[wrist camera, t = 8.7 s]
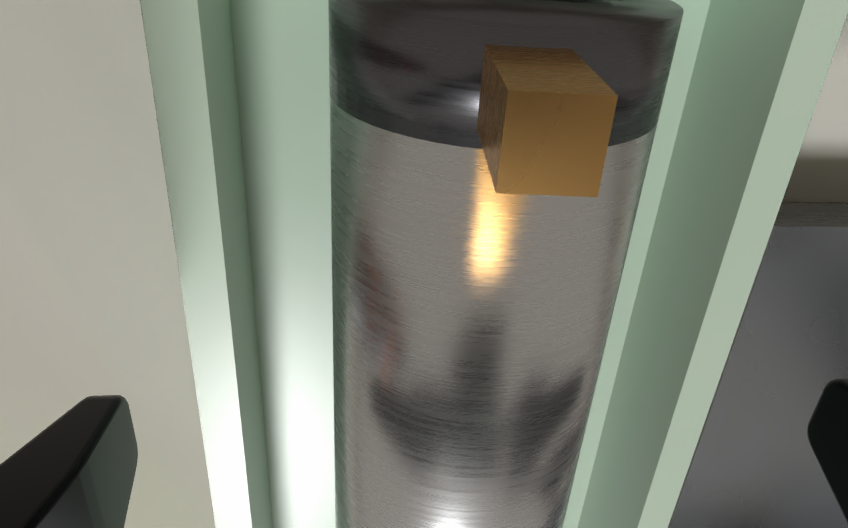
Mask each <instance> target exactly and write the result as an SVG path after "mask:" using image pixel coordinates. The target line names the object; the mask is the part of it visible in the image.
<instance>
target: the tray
mask: <svg viewBox="0 0 848 528" xmlns="http://www.w3.org/2000/svg"><path fill="white" fill-rule="evenodd" d="M671 1H673V2H675V3H677V4H678V5H680V6H681V7H682V8H683V11H684V13H683V17H682V21H681V26H680V30H679V34H678V38H677V43H676V47H675V51H674V55H673V60H672V64H671V68H670V72H669V77H668V81H667V85H666V89H665V94H664V98H663V102H662V107H661V111H660V115H659V119H658V124H657V128H656V132H655V136H654V141H653V145H652V149H651V153H650V158H649V162H648V166H647V170H646V175H645V179H644V183H643V187H642V192H641V196H640V200H639V204H638V209H637V213H636V217H635V221H634V226H633V230H632V234H631V238H630V243H629V247H628V251H627V255H626V260H625V264H624V268H623V272H622V277H621V281H620V285H619V289H618V294H617V298H616V302H615V306H614V311H613V315H612V319H611V324H610V328H609V332H608V336H607V341H606V345H605V349H604V353H603V358H602V362H601V366H600V370H599V375H598V379H597V383H596V387H595V392H594V396H593V400H592V404H591V409H590V413H589V417H588V421H587V426H586V430H585V434H584V438H583V443H582V447H581V451H580V455H579V460H578V464H577V468H576V472H575V477H574V481H573V485H572V489H571V494H570V498H569V502H568V506H567V511H566V515H565V519H564V524H563V528H668V525H669V522H670V519H671V517H672V514H673V511H674V508H675V505H676V502H677V499H678V497H679V494H680V491H681V488H682V485H683V482H684V479H685V477H686V474H687V471H688V468H689V465H690V462H691V459H692V457H693V454H694V451H695V448H696V445H697V442H698V440H699V437H700V434H701V431H702V428H703V425H704V422H705V420H706V417H707V414H708V411H709V408H710V405H711V402H712V400H713V397H714V394H715V391H716V388H717V385H718V382H719V380H720V377H721V374H722V371H723V368H724V365H725V362H726V360H727V357H728V354H729V351H730V348H731V345H732V343H733V340H734V337H735V334H736V331H737V328H738V325H739V323H740V320H741V317H742V314H743V311H744V308H745V305H746V303H747V300H748V297H749V294H750V291H751V288H752V285H753V283H754V280H755V277H756V274H757V271H758V268H759V265H760V263H761V260H762V257H763V254H764V251H765V248H766V246H767V243H768V240H769V237H770V234H771V231H772V228H773V226H774V223H775V220H776V217H777V214H778V211H779V208H780V206H781V203H782V200H783V197H784V194H785V191H786V188H787V186H788V183H789V180H790V177H791V174H792V171H793V168H794V166H795V163H796V160H797V157H798V154H799V151H800V149H801V146H802V143H803V140H804V137H805V134H806V131H807V129H808V126H809V123H810V120H811V117H812V114H813V111H814V109H815V106H816V103H817V100H818V97H819V94H820V91H821V89H822V86H823V83H824V80H825V77H826V74H827V71H828V69H829V66H830V63H831V60H832V57H833V54H834V52H835V49H836V46H837V43H838V40H839V37H840V34H841V32H842V29H843V26H844V23H845V20H846V17H847V14H848V0H671ZM140 4H141V11H142V18H143V25H144V32H145V39H146V46H147V53H148V60H149V67H150V74H151V81H152V88H153V95H154V102H155V109H156V116H157V122H158V129H159V136H160V143H161V150H162V157H163V164H164V171H165V178H166V185H167V192H168V199H169V206H170V213H171V220H172V227H173V234H174V241H175V248H176V255H177V262H178V269H179V276H180V282H181V289H182V296H183V303H184V310H185V317H186V324H187V331H188V338H189V345H190V352H191V359H192V366H193V373H194V380H195V387H196V394H197V401H198V408H199V415H200V422H201V429H202V436H203V442H204V449H205V456H206V463H207V470H208V477H209V484H210V491H211V498H212V505H213V512H214V519H215V526H216V528H335V460H334V385H333V311H332V237H331V162H330V88H329V14H328V0H140Z"/></svg>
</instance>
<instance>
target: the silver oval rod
mask: <svg viewBox="0 0 848 528" xmlns="http://www.w3.org/2000/svg"><path fill="white" fill-rule="evenodd" d="M683 13H684V11H683V8H682V7H681V6H680V5H678V4H677V3H675V2H673V1H671V0H328V14H329V88H330V162H331V237H332V311H333V385H334V460H335V528H563V524H564V519H565V515H566V511H567V506H568V502H569V498H570V494H571V489H572V485H573V481H574V477H575V472H576V468H577V464H578V460H579V455H580V451H581V447H582V443H583V438H584V434H585V430H586V426H587V421H588V417H589V413H590V409H591V404H592V400H593V396H594V392H595V387H596V383H597V379H598V375H599V370H600V366H601V362H602V358H603V353H604V349H605V345H606V341H607V336H608V332H609V328H610V324H611V319H612V315H613V311H614V306H615V302H616V298H617V294H618V289H619V285H620V281H621V277H622V272H623V268H624V264H625V260H626V255H627V251H628V247H629V243H630V238H631V234H632V230H633V226H634V221H635V217H636V213H637V209H638V204H639V200H640V196H641V192H642V187H643V183H644V179H645V175H646V170H647V166H648V162H649V158H650V153H651V149H652V145H653V141H654V136H655V132H656V128H657V124H658V119H659V115H660V111H661V107H662V102H663V98H664V94H665V89H666V85H667V81H668V77H669V72H670V68H671V64H672V60H673V55H674V51H675V47H676V43H677V38H678V34H679V30H680V26H681V21H682V17H683Z"/></svg>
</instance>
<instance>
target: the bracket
mask: <svg viewBox="0 0 848 528" xmlns="http://www.w3.org/2000/svg"><path fill="white" fill-rule="evenodd" d="M834 379H848V203H781V206H780V208H779V211H778V214H777V217H776V220H775V223H774V226H773V228H772V231H771V234H770V237H769V240H768V243H767V246H766V248H765V251H764V254H763V257H762V260H761V263H760V265H759V268H758V271H757V274H756V277H755V280H754V283H753V285H752V288H751V291H750V294H749V297H748V300H747V303H746V305H745V308H744V311H743V314H742V317H741V320H740V323H739V325H738V328H737V331H736V334H735V337H734V340H733V343H732V345H731V348H730V351H729V354H728V357H727V360H726V362H725V365H724V368H723V371H722V374H721V377H720V380H719V382H718V385H717V388H716V391H715V394H714V397H713V400H712V402H711V405H710V408H709V411H708V414H707V417H706V420H705V422H704V425H703V428H702V431H701V434H700V437H699V440H698V442H697V445H696V448H695V451H694V454H693V457H692V459H691V462H690V465H689V468H688V471H687V474H686V477H685V479H684V482H683V485H682V488H681V491H680V494H679V497H678V499H677V502H676V505H675V508H674V511H673V514H672V517H671V519H670V522H669V525H668V528H848V524H847V522H846V520H845V518H844V516H843V514H842V512H841V509H840V507H839V505H838V503H837V501H836V499H835V497H834V495H833V493H832V490H831V488H830V486H829V484H828V482H827V480H826V478H825V476H824V473H823V471H822V469H821V467H820V465H819V463H818V461H817V459H816V457H815V454H814V452H813V450H812V448H811V446H810V444H809V441H808V437H807V426H808V422H809V420H810V418H811V416H812V413H813V411H814V409H815V407H816V405H817V402H818V400H819V398H820V396H821V394H822V391H823V389H824V387H825V386H826V384H827V383H829V382H830V381H831V380H834Z"/></svg>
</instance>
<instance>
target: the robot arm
mask: <svg viewBox="0 0 848 528" xmlns="http://www.w3.org/2000/svg"><path fill="white" fill-rule="evenodd" d="M807 437H808V441H809V444H810V446H811V448H812V450H813V452H814V454H815V457H816V459H817V461H818V463H819V465H820V467H821V469H822V471H823V473H824V476H825V478H826V480H827V482H828V484H829V486H830V488H831V490H832V493H833V495H834V497H835V499H836V501H837V503H838V505H839V507H840V509H841V512H842V514H843V516H844V518H845V520H846V522H847V524H848V379H834V380H831V381H830V382H829V383H827V384H826V386H825V387H824V389H823V391H822V394H821V396H820V398H819V400H818V402H817V405H816V407H815V409H814V411H813V413H812V416H811V418H810V420H809V422H808V426H807ZM137 458H138V450H137V442H136V438H135V433H134V428H133V423H132V419H131V414H130V409H129V405H128V402H127V401H126V399H125V398H124V397H122V396H120V395H105V396H89V397H87V398H85V399H83V400H82V401H80V402H79V403H78V404H77V405H75V406H74V407H73V408H72V409H70V410H69V411H68V412H66V413H65V414H64V415H63V416H61V417H60V418H59V419H58V420H56V421H55V422H54V423H52V424H51V425H50V426H49V427H47V428H46V429H45V430H44V431H42V432H41V433H40V434H38V435H37V436H36V437H35V438H33V439H32V440H31V441H30V442H28V443H27V444H26V445H24V446H23V447H22V448H21V449H19V450H18V451H17V452H16V453H14V454H13V455H12V456H10V457H9V458H8V459H7V460H5V461H4V462H3V463H2V464H0V528H124V524H125V519H126V514H127V509H128V505H129V500H130V495H131V490H132V486H133V481H134V476H135V471H136V466H137Z"/></svg>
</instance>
